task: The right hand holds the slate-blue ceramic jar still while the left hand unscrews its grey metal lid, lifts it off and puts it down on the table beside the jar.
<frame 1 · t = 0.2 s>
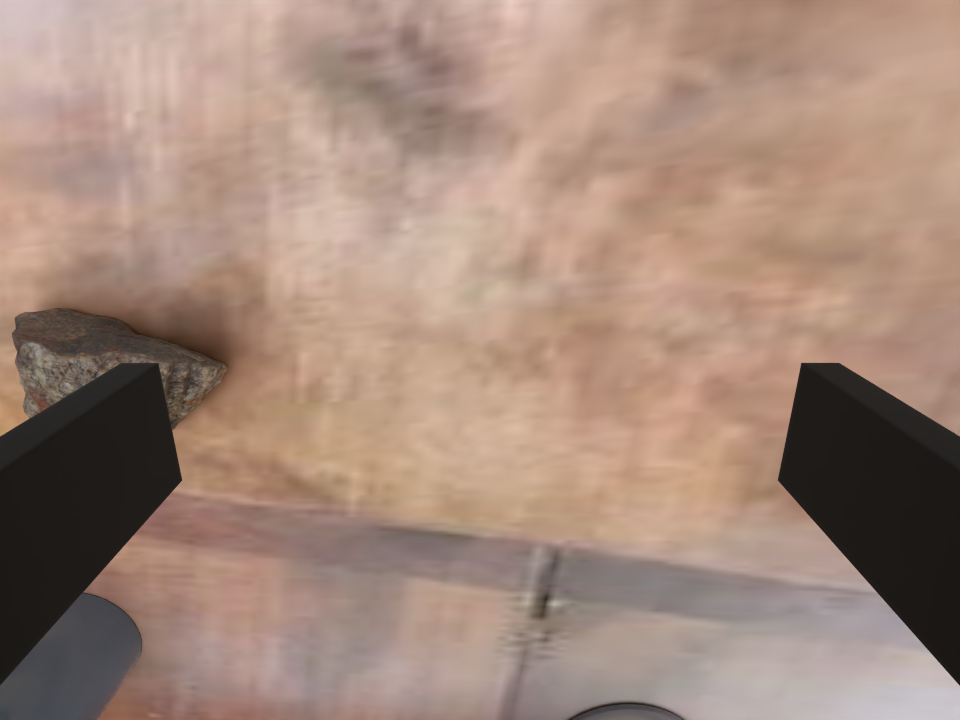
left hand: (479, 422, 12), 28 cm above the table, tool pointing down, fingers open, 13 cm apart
rock: (131, 364, 42), on the table
jar: (84, 636, 50), on the table
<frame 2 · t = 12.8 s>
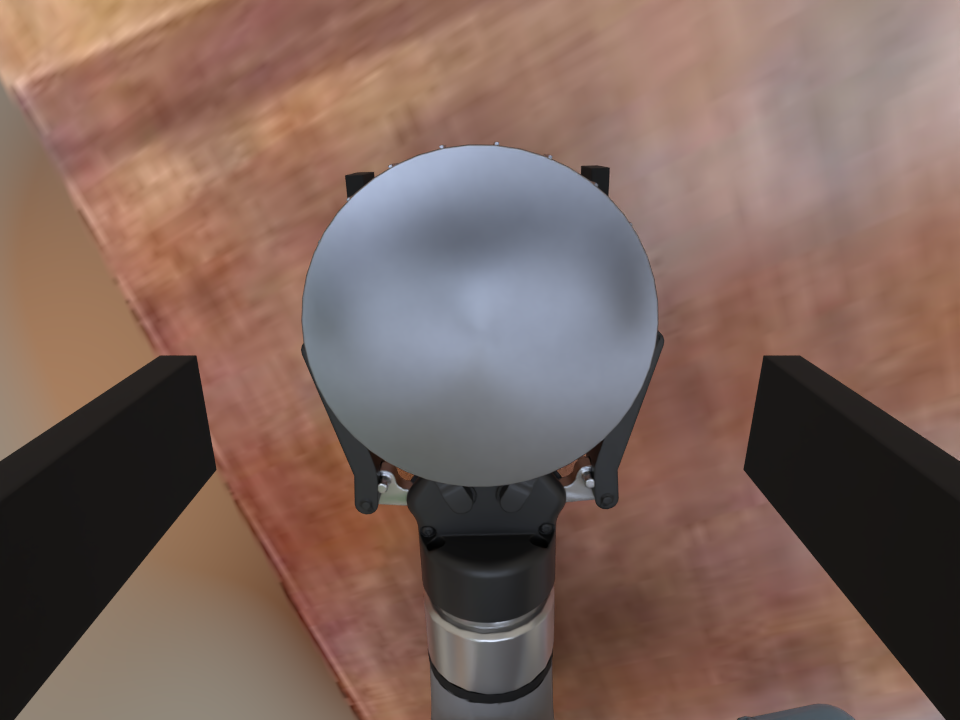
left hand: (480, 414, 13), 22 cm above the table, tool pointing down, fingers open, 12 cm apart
lid: (479, 330, 18), point 16 cm above the table, screwed on, not yet turned
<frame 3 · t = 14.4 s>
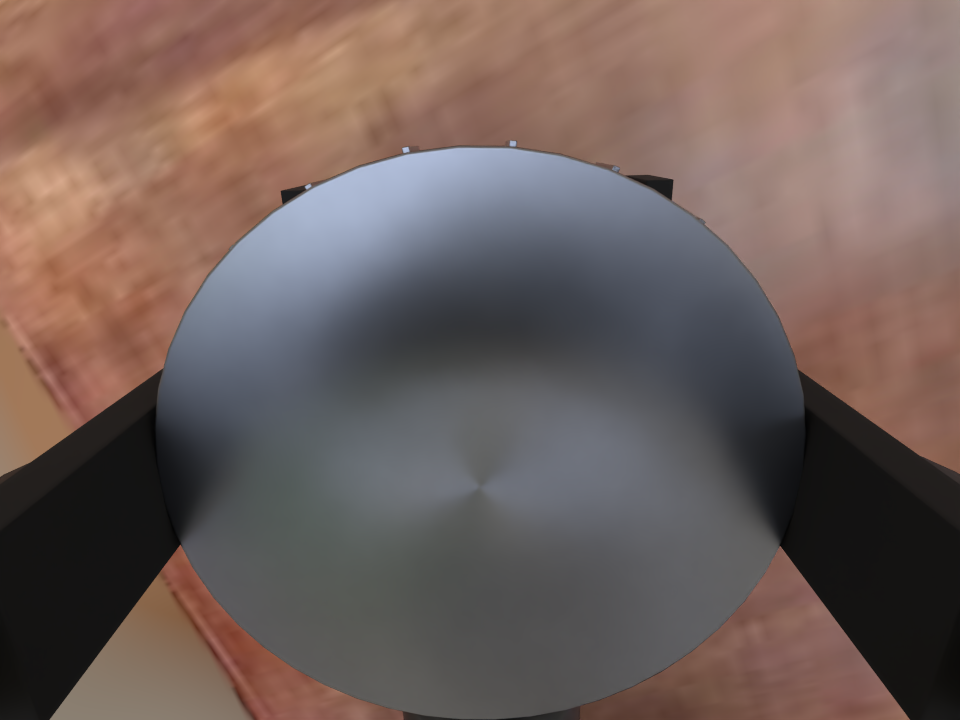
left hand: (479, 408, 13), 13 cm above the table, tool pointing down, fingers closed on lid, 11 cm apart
lid: (480, 476, 10), point 16 cm above the table, screwed on, not yet turned, touching left hand
when the left hand's fingers open (0 cm above the table, at t = 24.2 s): lid drops 1 cm, point 2 cm above the table.
when the right hand's fingers open (6 cm above the table, at t = 25.2 s): jar stays where it is, on the table.
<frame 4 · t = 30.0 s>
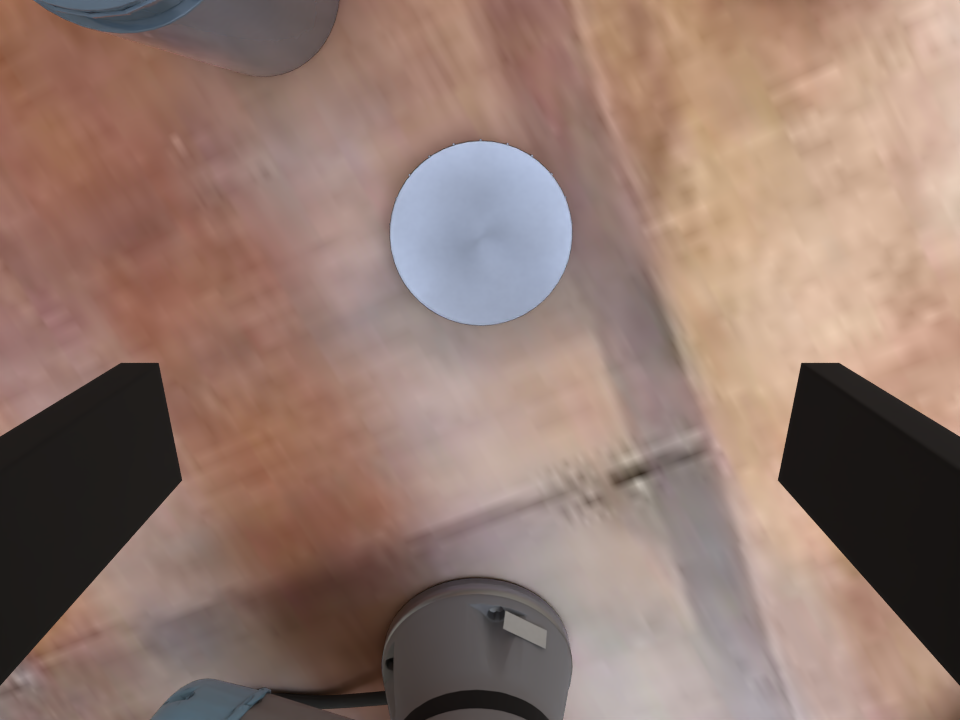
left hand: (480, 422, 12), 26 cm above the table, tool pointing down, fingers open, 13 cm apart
lid: (481, 237, 36), point 2 cm above the table, off its thread
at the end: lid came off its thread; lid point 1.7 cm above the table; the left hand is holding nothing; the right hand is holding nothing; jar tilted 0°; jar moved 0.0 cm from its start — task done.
